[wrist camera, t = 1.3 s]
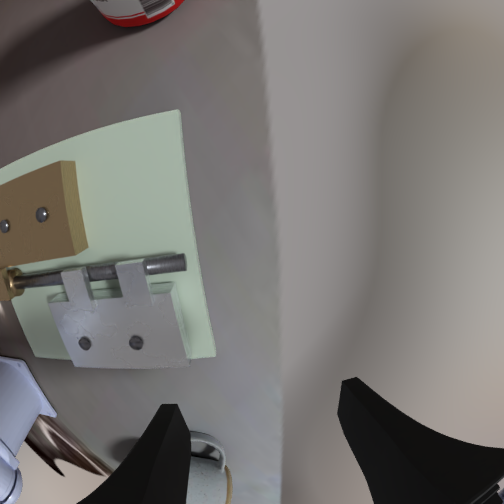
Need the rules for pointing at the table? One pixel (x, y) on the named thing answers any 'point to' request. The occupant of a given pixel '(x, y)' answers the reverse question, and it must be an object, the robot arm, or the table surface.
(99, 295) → the steel leaf
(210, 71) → the table surface
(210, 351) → the board
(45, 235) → the bronze leaf
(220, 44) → the table surface
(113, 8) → the beer can
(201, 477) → the ceramic mug
